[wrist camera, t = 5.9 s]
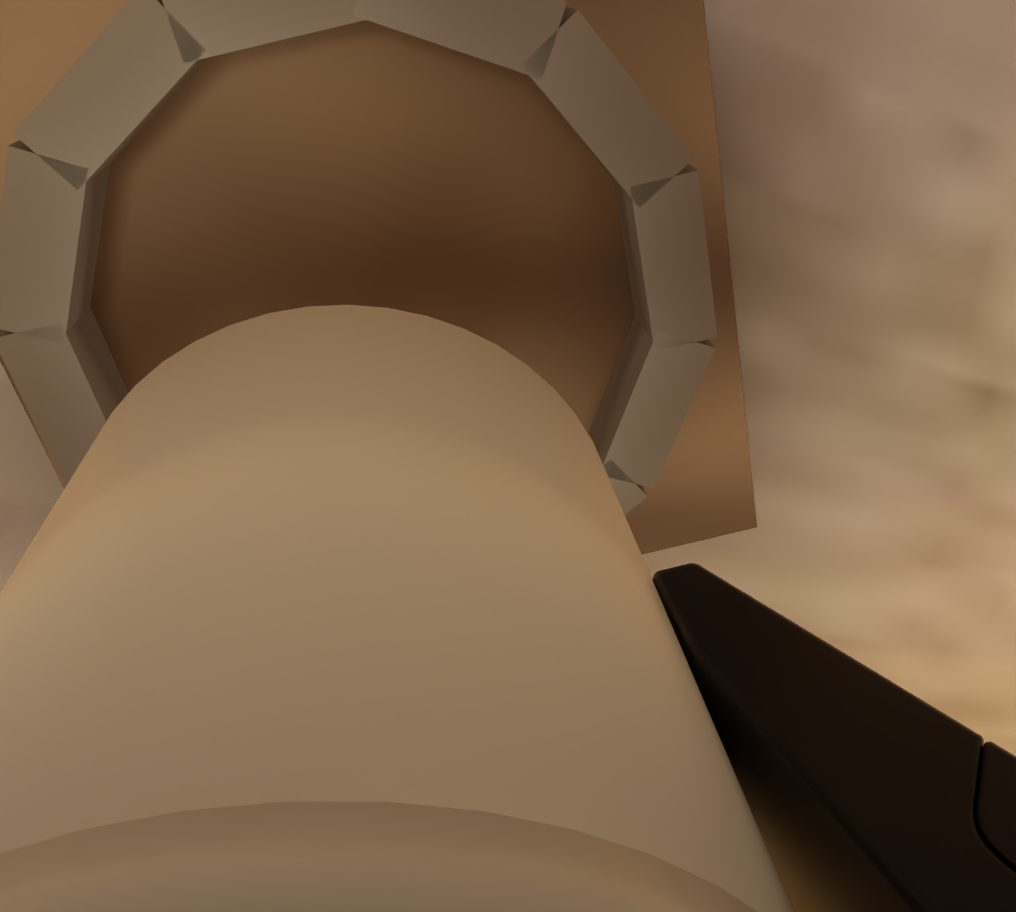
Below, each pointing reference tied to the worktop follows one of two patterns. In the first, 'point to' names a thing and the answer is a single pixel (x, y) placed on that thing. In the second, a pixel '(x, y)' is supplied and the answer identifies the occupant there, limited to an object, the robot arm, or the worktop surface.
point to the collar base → (382, 207)
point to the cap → (354, 651)
